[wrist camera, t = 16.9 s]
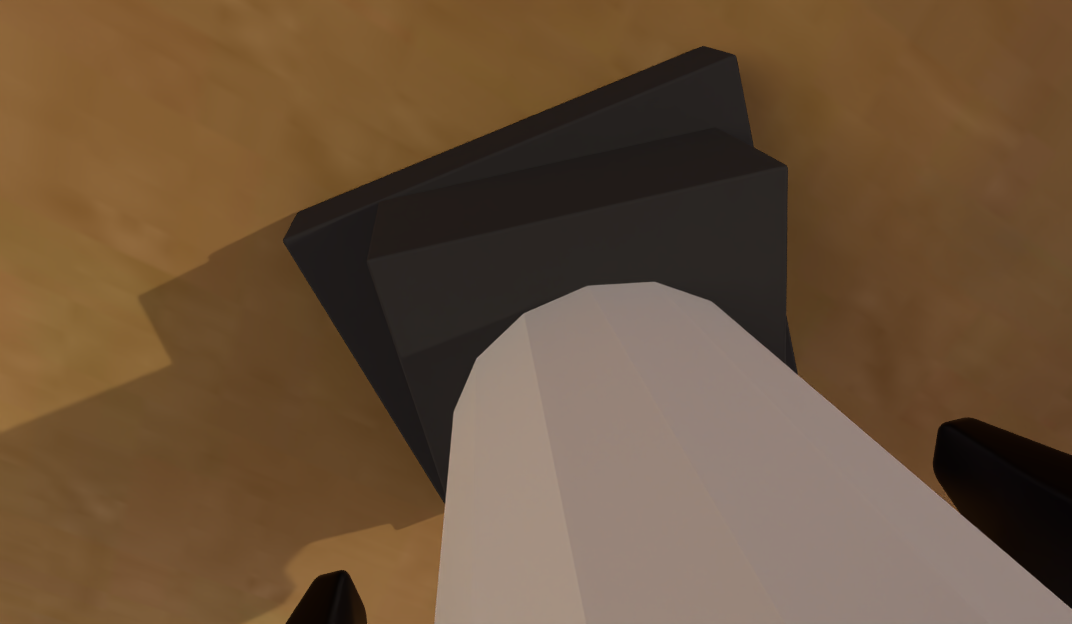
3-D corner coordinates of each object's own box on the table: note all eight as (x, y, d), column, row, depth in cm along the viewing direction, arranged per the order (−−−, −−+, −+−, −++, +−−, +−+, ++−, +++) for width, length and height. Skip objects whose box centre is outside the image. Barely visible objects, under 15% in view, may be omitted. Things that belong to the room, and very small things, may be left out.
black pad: (730, 446, 16) (784, 532, 14) (474, 509, 16) (482, 608, 13) (716, 125, 12) (789, 164, 10) (378, 200, 12) (365, 260, 10)
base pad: (776, 381, 17) (807, 417, 16) (467, 501, 18) (470, 546, 16) (704, 44, 13) (737, 53, 12) (296, 212, 13) (280, 240, 12)
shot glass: (343, 490, 11) (247, 1093, 5) (566, 160, 9) (838, 531, 3) (640, 598, 14) (807, 1090, 8) (869, 359, 12) (1348, 779, 6)
